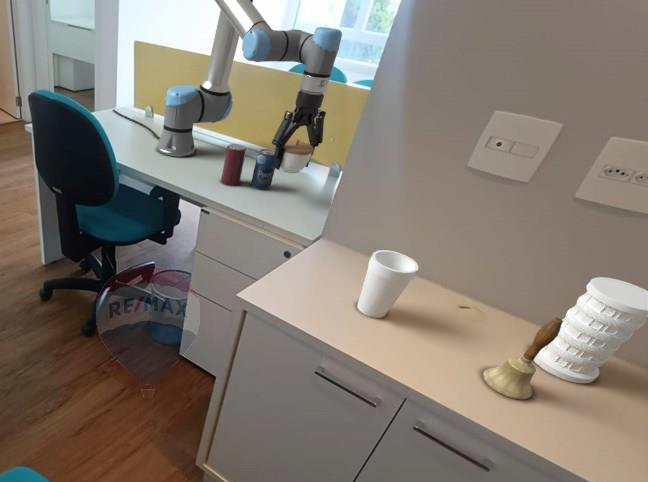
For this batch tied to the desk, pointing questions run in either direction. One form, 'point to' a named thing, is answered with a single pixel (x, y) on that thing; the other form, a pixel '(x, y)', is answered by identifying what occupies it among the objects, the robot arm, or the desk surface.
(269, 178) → the soda can
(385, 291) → the foam cup
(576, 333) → the decorative container
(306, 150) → the trinket box
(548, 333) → the hand bell
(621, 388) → the desk surface
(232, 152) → the aluminium can
